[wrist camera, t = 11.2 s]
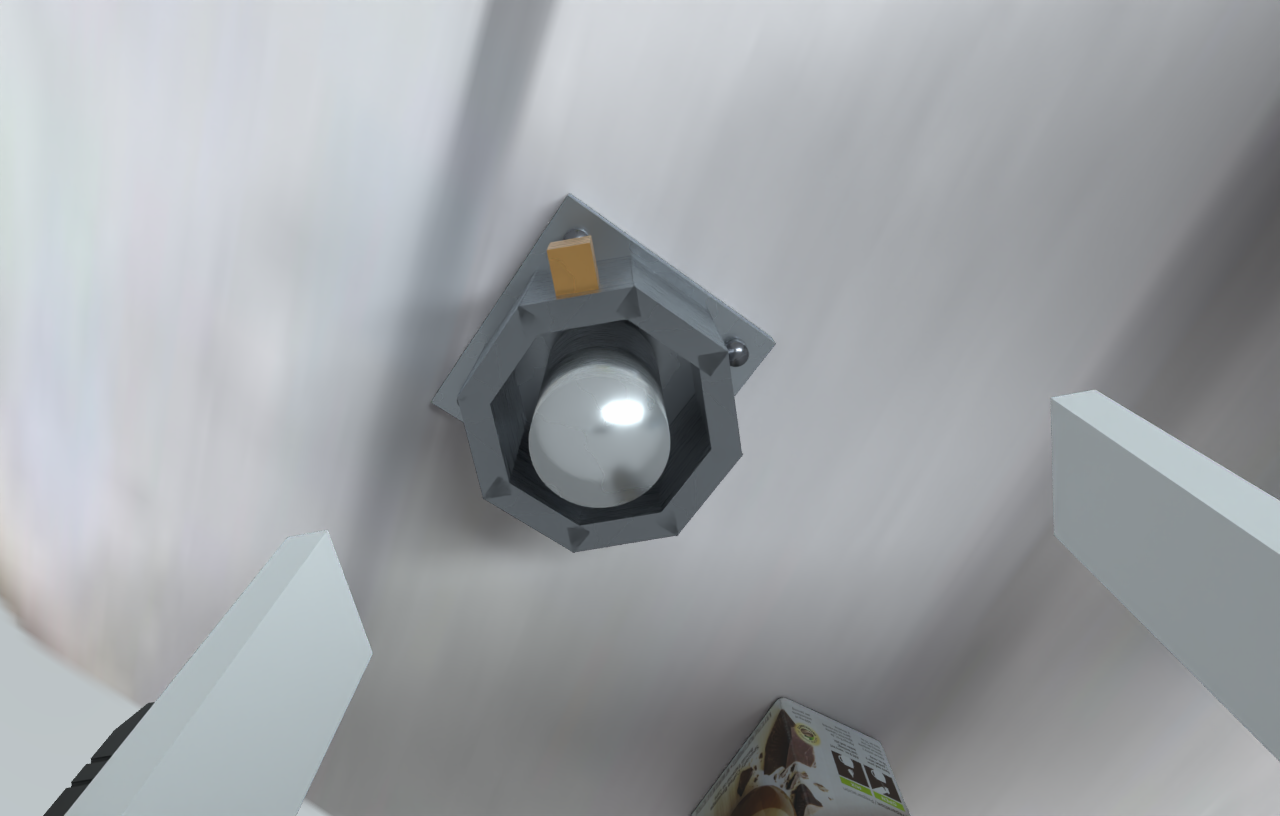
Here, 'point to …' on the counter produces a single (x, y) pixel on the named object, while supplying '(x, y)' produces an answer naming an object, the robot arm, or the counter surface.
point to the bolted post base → (603, 376)
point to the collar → (696, 434)
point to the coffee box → (805, 771)
